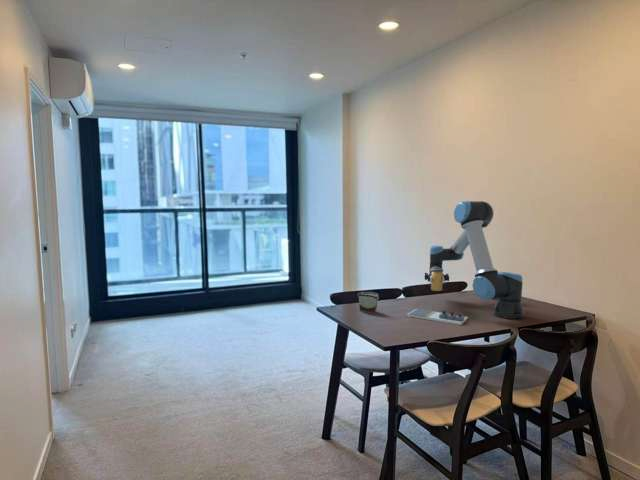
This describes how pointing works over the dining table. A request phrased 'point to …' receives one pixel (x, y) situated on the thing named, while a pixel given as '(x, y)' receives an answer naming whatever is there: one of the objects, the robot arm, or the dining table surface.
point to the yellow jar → (436, 279)
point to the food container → (368, 301)
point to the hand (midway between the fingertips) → (437, 280)
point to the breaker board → (438, 316)
